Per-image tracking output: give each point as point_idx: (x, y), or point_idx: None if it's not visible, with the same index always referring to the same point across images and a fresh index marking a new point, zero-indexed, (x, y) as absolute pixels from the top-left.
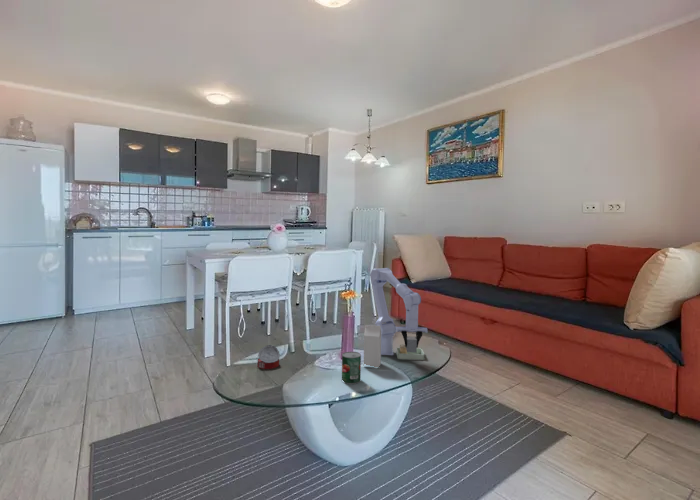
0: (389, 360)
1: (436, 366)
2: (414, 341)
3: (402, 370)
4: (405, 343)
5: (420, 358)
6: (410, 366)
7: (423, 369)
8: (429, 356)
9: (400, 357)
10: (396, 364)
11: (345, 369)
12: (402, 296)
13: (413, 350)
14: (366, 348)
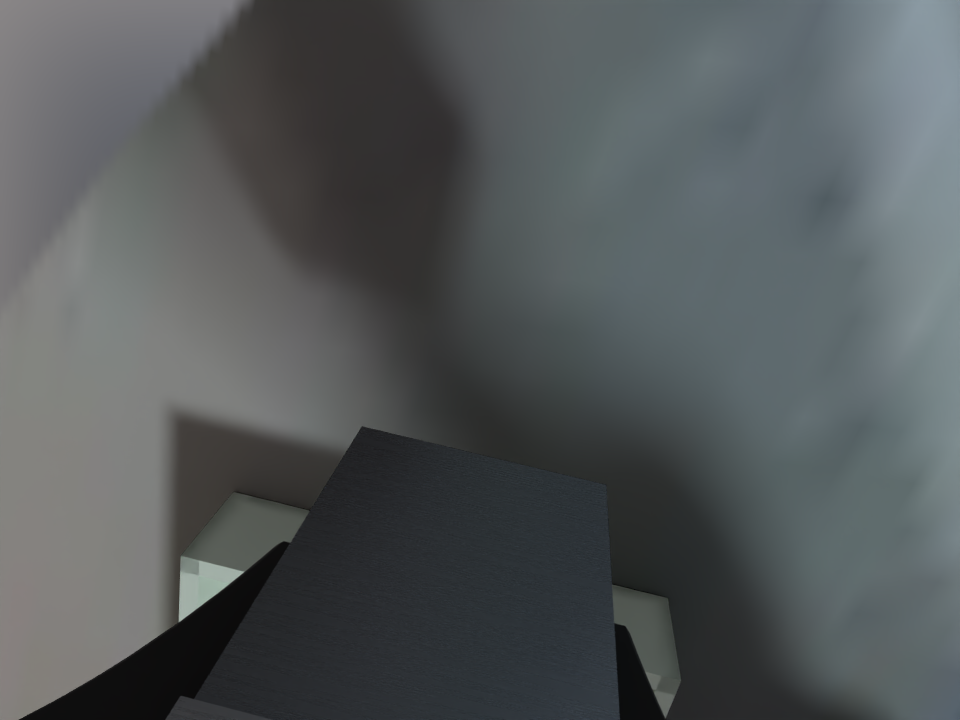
0: (824, 598)
1: (84, 202)
2: (320, 667)
3: (821, 56)
4: (654, 714)
5: (283, 526)
6: (560, 266)
7: (358, 68)
8: (122, 632)
9: (624, 615)
10: (788, 403)
11: None
12: None
13: (431, 469)
14: None
